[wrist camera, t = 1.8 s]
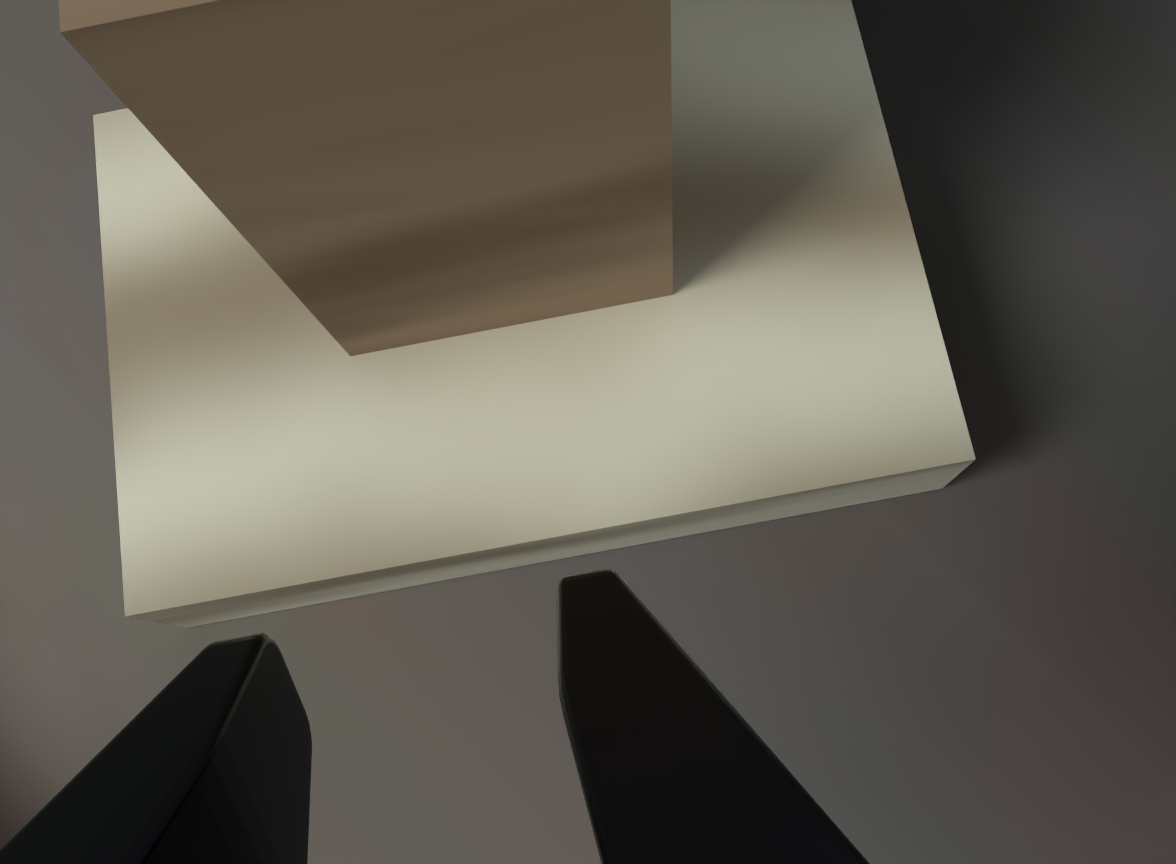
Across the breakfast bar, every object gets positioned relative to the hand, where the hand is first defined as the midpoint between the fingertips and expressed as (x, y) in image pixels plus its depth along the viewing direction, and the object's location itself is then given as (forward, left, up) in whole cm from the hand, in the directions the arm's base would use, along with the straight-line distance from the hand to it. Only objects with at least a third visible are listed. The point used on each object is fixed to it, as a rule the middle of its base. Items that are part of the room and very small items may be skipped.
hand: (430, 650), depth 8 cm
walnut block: (+5, +8, -11) cm, 15 cm away
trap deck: (+8, +11, -14) cm, 19 cm away
